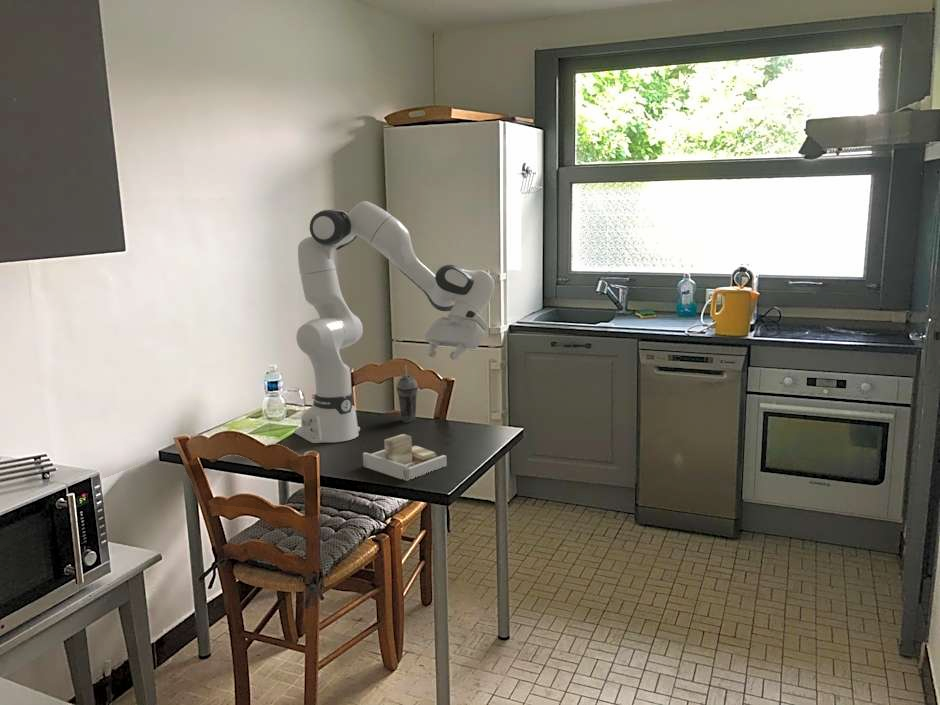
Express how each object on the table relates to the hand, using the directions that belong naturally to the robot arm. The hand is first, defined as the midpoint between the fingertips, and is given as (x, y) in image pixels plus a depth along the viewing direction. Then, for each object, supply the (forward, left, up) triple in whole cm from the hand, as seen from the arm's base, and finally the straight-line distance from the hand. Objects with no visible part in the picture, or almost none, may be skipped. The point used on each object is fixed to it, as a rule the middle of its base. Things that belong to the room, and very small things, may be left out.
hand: (441, 356), depth 228 cm
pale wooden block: (0, -18, -29) cm, 34 cm away
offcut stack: (0, -11, -29) cm, 31 cm away
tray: (0, -16, -29) cm, 33 cm away
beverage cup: (-33, +16, -29) cm, 47 cm away
